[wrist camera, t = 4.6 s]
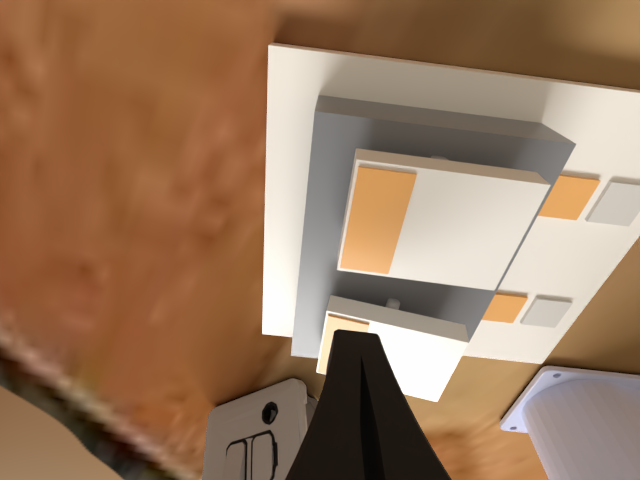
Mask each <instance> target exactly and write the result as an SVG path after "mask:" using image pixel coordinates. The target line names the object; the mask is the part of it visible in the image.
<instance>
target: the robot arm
mask: <svg viewBox="0 0 640 480" xmlns="http://www.w3.org/2000/svg"><path fill="white" fill-rule="evenodd" d="M499 425H500V428H501V429H502V430H505V431H514V432H524V433H529V436H530V438H531V440H532V442H533V445H534V447H535V449H536V452H537V454H538V456H539V458H540V461H541V463H542V465H543V467H544V470H545V472H546V474H547V476H548V479H549V480H640V375H633V374H623V373H614V372H605V371H595V370H586V369H577V368H567V367H558V366H545V367H542V368H541V369H540V371H539V372H538V373H537V374H536V376H535V377H534V378H533V380H532V381H531V382H530V384H529V385H528V386H527V387H526V389H525V390H524V391H523V393H522V394H521V395H520V397H519V398H518V399H517V400H516V402H515V403H514V404H513V406H512V407H511V408H510V409H509V411H508V412H507V413H506V415H505V416H504V417H503V419H502V420H501V421H500V423H499ZM285 480H451V478H450V477H449V475H448V473H447V472H446V470H445V469H444V467H443V465H442V464H441V462H440V461H439V459H438V457H437V456H436V454H435V452H434V451H433V449H432V447H431V445H430V444H429V442H428V440H427V438H426V437H425V435H424V433H423V431H422V429H421V428H420V426H419V424H418V422H417V420H416V418H415V416H414V414H413V413H412V411H411V409H410V407H409V405H408V403H407V400H406V398H405V396H404V394H403V392H402V390H401V388H400V386H399V384H398V382H397V379H396V377H395V375H394V373H393V370H392V368H391V366H390V363H389V361H388V358H387V356H386V353H385V351H384V348H383V345H382V343H381V340H380V337H379V335H378V334H376V333H368V332H359V331H351V330H342V329H337V330H335V331H334V334H333V339H332V344H331V348H330V353H329V358H328V363H327V369H326V379H325V383H324V386H323V390H322V393H321V396H320V398H319V401H318V404H317V407H316V409H315V412H314V415H313V417H312V420H311V422H310V425H309V427H308V430H307V432H306V435H305V437H304V439H303V442H302V444H301V446H300V448H299V451H298V453H297V455H296V457H295V460H294V462H293V464H292V466H291V468H290V470H289V472H288V474H287V476H286V478H285Z"/></svg>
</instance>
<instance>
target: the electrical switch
mask: <svg viewBox="0 0 640 480" xmlns="http://www.w3.org/2000/svg"><path fill="white" fill-rule="evenodd" d="M317 404H318V401H317V400H316V399H313V398H310V397H309V396H307V391H306V385H305V384H304V383H303V382H302V381H301V380H298V379H293V378H291V379H288V380H286V381H283V382H280V383H278V384H275V385H273V386H270V387H267V388H265V389H262V390H260V391H257V392H254V393H252V394H249V395H247V396H244V397H241V398H239V399H236V400H234V401H231V402H228V403H226V404H223V405H220V406H218V407H215V408H213V409H212V410H211V412H210V414H209V416H208V421H207V432H206V443H205V454H204V465H203V476H202V480H285V478H286V476H287V474H288V472H289V470H290V468H291V466H292V464H293V462H294V460H295V457H296V455H297V453H298V451H299V448H300V446H301V444H302V442H303V439H304V437H305V435H306V432H307V430H308V427H309V425H310V422H311V420H312V417H313V415H314V412H315V409H316V407H317Z"/></svg>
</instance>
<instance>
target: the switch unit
mask: <svg viewBox="0 0 640 480" xmlns="http://www.w3.org/2000/svg"><path fill="white" fill-rule="evenodd" d="M356 148H358V149H366V150H373V151H381V152H388V153H396V154H403V155H411V156H419V157H426V158H434V159H441V160H449V161H456V162H464V163H472V164H479V165H487V166H494V167H502V168H509V169H517V170H525V171H532V172H537V173H538V174H539V175H540V176H541V177H542V178H543V179H545V180H546V181H547V182H548V183H549V184H550V185H551V186H550V188H549V189H548V191H547V193H546V195H545V197H544V199H543V201H542V202H541V204H540V206H539V208H538V210H537V212H536V214H535V216H534V217H533V219H532V221H531V223H530V225H529V227H528V229H527V231H526V232H525V234H524V236H523V238H522V240H521V242H520V244H519V245H518V247H517V249H516V251H515V253H514V255H513V257H512V259H511V260H510V262H509V264H508V266H507V268H506V270H505V272H504V274H503V275H502V277H501V279H500V281H499V283H498V285H497V287H496V289H495V290H494V291H493V290H485V289H477V288H470V287H462V286H454V285H447V284H439V283H432V282H424V281H416V280H409V279H401V278H393V277H386V276H378V275H371V274H363V273H355V272H348V271H340V270H337V258H338V250H339V244H340V238H341V232H342V226H343V221H344V215H345V209H346V203H347V198H348V192H349V186H350V180H351V174H352V169H353V163H354V157H355V151H356ZM639 236H640V90H636V89H628V88H620V87H613V86H605V85H597V84H590V83H582V82H574V81H566V80H559V79H551V78H543V77H535V76H528V75H520V74H512V73H505V72H497V71H489V70H481V69H474V68H466V67H458V66H450V65H443V64H435V63H427V62H420V61H412V60H404V59H396V58H389V57H381V56H373V55H365V54H358V53H350V52H342V51H335V50H327V49H319V48H311V47H304V46H296V45H288V44H280V43H271V44H269V45H268V90H267V136H266V182H265V228H264V273H263V319H262V334H268V335H277V336H286V337H293V338H292V349H291V356H299V357H308V358H319V352H320V346H321V340H322V334H323V328H324V322H325V317H326V311H327V307H328V303H329V299H330V295H333V296H338V297H342V298H347V299H351V300H356V301H360V302H365V303H369V304H374V305H378V306H383V307H387V308H391V309H396V310H400V311H405V312H409V313H414V314H418V315H423V316H427V317H432V318H436V319H441V320H445V321H450V322H454V323H459V324H463V325H466V330H467V336H468V341H469V344H468V346H467V347H466V349H465V351H464V353H463V356H472V357H482V358H491V359H500V360H510V361H519V362H528V363H537V364H542V363H543V362H544V360H545V359H546V358H547V356H548V355H549V354H550V352H551V351H552V350H553V349H554V347H555V346H556V345H557V343H558V342H559V341H560V339H561V338H562V337H563V335H564V334H565V333H566V331H567V330H568V329H569V328H570V326H571V325H572V324H573V322H574V321H575V320H576V318H577V317H578V316H579V314H580V313H581V312H582V311H583V309H584V308H585V307H586V305H587V304H588V303H589V301H590V300H591V299H592V297H593V296H594V295H595V294H596V292H597V291H598V290H599V288H600V287H601V286H602V284H603V283H604V282H605V280H606V279H607V278H608V276H609V275H610V274H611V273H612V271H613V270H614V269H615V267H616V266H617V265H618V263H619V262H620V261H621V259H622V258H623V257H624V256H625V254H626V253H627V252H628V250H629V249H630V248H631V246H632V245H633V244H634V242H635V241H636V240H637V239H638V237H639Z"/></svg>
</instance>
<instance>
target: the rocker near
mask: <svg viewBox="0 0 640 480" xmlns="http://www.w3.org/2000/svg"><path fill="white" fill-rule="evenodd" d="M550 186H551V185H550V184H549V183H548V182H547V181H546V180H545V179H543V178H542V177H541V176H540V175H539V174H538V173H537V172H532V171H525V170H517V169H509V168H502V167H494V166H487V165H479V164H472V163H464V162H456V161H449V160H441V159H434V158H426V157H419V156H411V155H403V154H396V153H388V152H381V151H373V150H366V149H358V148H356V151H355V157H354V163H353V169H352V174H351V180H350V186H349V192H348V198H347V203H346V209H345V215H344V221H343V226H342V232H341V238H340V244H339V250H338V258H337V270H340V271H348V272H355V273H363V274H371V275H378V276H386V277H393V278H401V279H409V280H416V281H424V282H432V283H439V284H447V285H454V286H462V287H470V288H477V289H485V290H493V291H494V290H495V289H496V287H497V285H498V283H499V281H500V279H501V277H502V275H503V274H504V272H505V270H506V268H507V266H508V264H509V262H510V260H511V259H512V257H513V255H514V253H515V251H516V249H517V247H518V245H519V244H520V242H521V240H522V238H523V236H524V234H525V232H526V231H527V229H528V227H529V225H530V223H531V221H532V219H533V217H534V216H535V214H536V212H537V210H538V208H539V206H540V204H541V202H542V201H543V199H544V197H545V195H546V193H547V191H548V189H549V188H550Z"/></svg>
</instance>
